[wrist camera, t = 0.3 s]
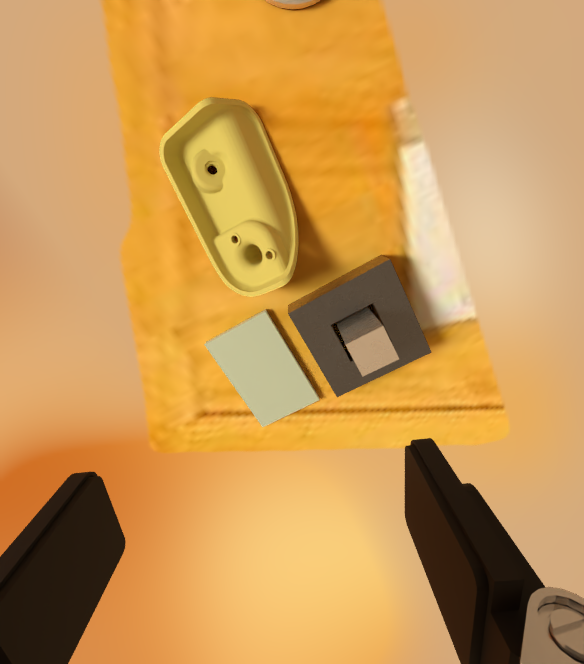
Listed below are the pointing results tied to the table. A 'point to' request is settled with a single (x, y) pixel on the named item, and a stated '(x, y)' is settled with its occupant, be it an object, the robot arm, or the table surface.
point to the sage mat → (262, 368)
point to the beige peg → (367, 341)
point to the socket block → (347, 298)
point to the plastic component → (234, 194)
